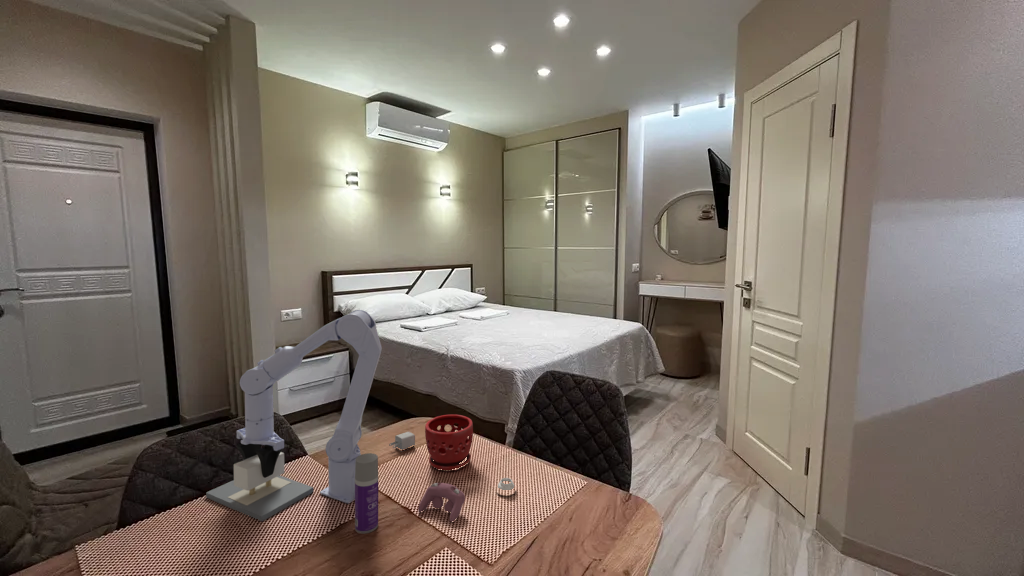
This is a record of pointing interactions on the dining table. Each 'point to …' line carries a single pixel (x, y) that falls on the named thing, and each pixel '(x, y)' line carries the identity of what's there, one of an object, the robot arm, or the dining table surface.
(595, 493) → the dining table surface
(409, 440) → the usb wall charger
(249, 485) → the block
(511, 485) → the grey rounded piece
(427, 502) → the video game controller
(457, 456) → the plant pot
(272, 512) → the stub plate
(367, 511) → the container
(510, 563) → the dining table surface
